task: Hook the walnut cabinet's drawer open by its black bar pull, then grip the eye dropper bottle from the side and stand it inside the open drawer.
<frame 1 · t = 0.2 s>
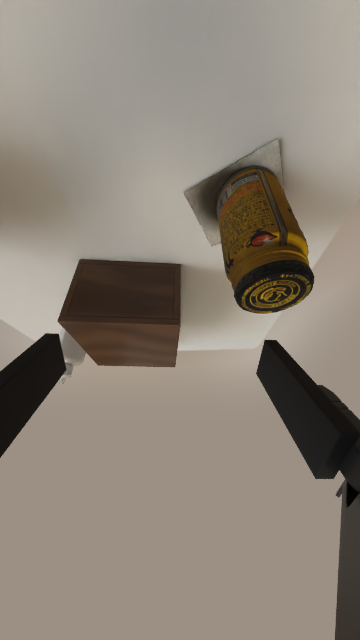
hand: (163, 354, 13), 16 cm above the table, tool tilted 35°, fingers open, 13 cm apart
condiment: (236, 201, 21), on the table
eye dropper bottle: (78, 325, 44), on the table
cabinet: (137, 296, 34), on the table
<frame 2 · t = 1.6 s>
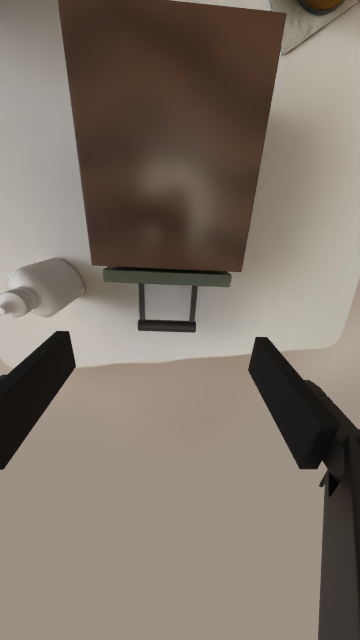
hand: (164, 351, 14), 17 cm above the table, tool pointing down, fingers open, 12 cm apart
drawer: (169, 239, 22), point 5 cm above the table, slide at 0.5 cm
eye dropper bottle: (68, 277, 28), on the table
cabinet: (171, 185, 24), on the table
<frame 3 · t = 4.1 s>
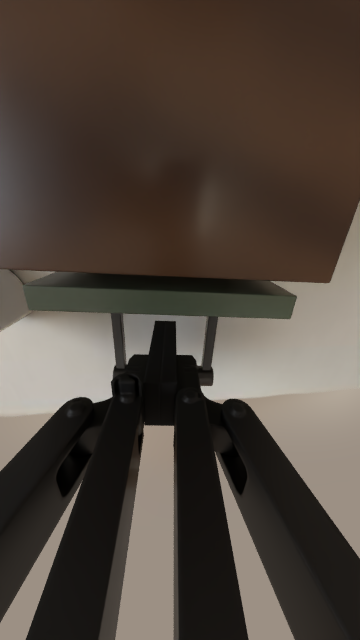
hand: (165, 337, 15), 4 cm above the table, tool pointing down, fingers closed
drawer: (167, 225, 12), point 5 cm above the table, slide at 0.9 cm, touching gripper
eye dropper bottle: (6, 286, 18), on the table
cabinet: (171, 126, 13), on the table
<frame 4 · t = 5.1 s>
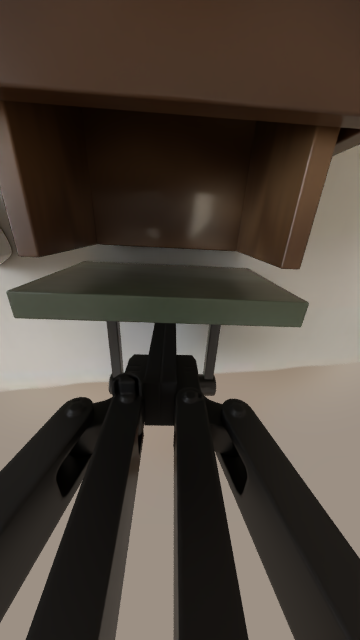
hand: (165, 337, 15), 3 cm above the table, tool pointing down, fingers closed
drawer: (167, 224, 11), point 5 cm above the table, slide at 5.6 cm, touching gripper
cabinet: (174, 1, 11), on the table
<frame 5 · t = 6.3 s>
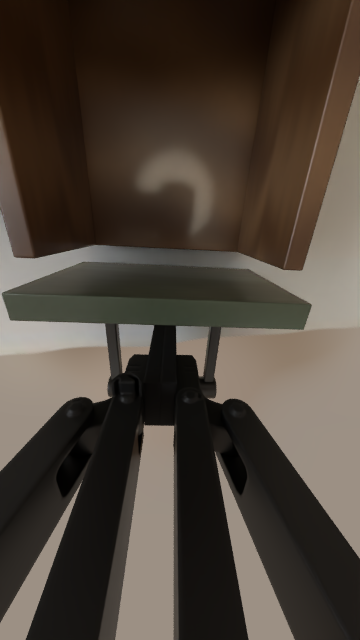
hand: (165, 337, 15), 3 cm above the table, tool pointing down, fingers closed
drawer: (166, 225, 11), point 5 cm above the table, slide at 10.0 cm
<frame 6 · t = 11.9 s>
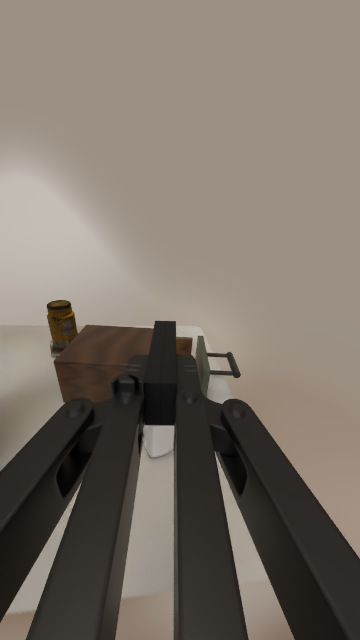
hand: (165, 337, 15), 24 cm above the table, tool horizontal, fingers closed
drawer: (185, 365, 43), point 5 cm above the table, slide at 10.0 cm
condiment: (66, 346, 55), on the table
eye dropper bottle: (163, 444, 32), on the table
cabinet: (115, 379, 45), on the table
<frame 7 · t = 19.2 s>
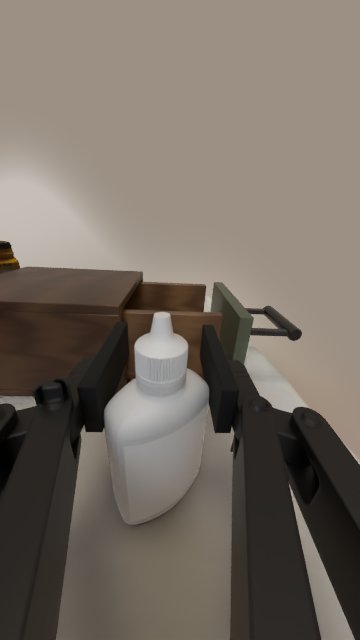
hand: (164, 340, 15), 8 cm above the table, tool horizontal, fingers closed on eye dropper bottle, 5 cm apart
drawer: (197, 325, 24), point 5 cm above the table, slide at 10.0 cm
condiment: (9, 315, 36), on the table
eye dropper bottle: (159, 483, 14), on the table, touching gripper
cabinet: (75, 356, 26), on the table
when the fingers open (12 cm above the table, at t = 31.6 s): eye dropper bottle drops 2 cm, resting on drawer.
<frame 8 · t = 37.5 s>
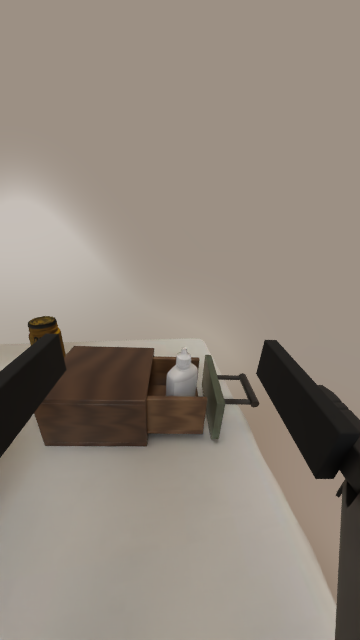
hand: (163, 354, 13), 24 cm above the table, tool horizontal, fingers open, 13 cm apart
drawer: (192, 392, 37), point 5 cm above the table, slide at 10.2 cm, touching eye dropper bottle
condiment: (52, 368, 48), on the table
eye dropper bottle: (180, 404, 38), point 2 cm above the table, touching drawer
cabinet: (109, 410, 38), on the table
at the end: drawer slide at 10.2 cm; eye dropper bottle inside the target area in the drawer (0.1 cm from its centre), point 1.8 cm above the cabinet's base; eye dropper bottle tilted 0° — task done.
